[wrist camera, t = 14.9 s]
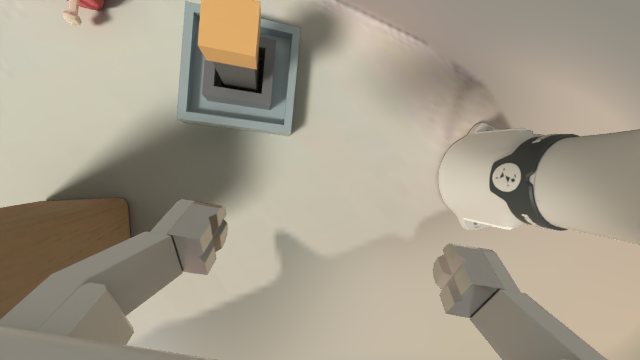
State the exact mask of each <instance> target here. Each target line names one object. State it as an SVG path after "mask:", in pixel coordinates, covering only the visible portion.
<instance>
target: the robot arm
mask: <svg viewBox="0 0 640 360" xmlns="http://www.w3.org/2000/svg"><path fill="white" fill-rule="evenodd" d="M439 189H440V193H441V195H442V198H443V200H444V202H445V203H446V205H447V206H448V207H449V208H450V209H451V210H452V211H453V212H454V213H455V214H456V215H457V217H458V220H459V222H460V224H461V226H462V227H463V228H464V229H466V230H475V229H481V228H487V227H492V226H494V227H498V228H503V229H508V230H511V229H512V228H516V227H521V226H524V225H527V224H530V225H534V226H536V227H540V228H544V229H554V230H560V231H561V230H568V229H569V230H574V231H579V232H583V233H588V234H593V235H598V236H602V237H606V238H611V239H616V240H620V241H625V242H630V243H634V244H639V245H640V129H638V130H632V131H624V132H618V133H609V134H600V135H590V136H578V135H574V134H551V135H541V134H533V131H530V130H525V129H524V128H516V129H505V130H500V129H497V128H495V127H493V126H490V125H488V124H486V123H478V124H476V125H475V126H474V127H473V128H472V129H471V131H470V132H469V133H468V135H466V136H465V137H464V138H462V139H460V140H459V141H457V142H456V143H454V144H453V145H452V146H451V147H450V148H449V150H448V151H447V152H446V154H445V156H444V158H443V160H442V162H441V165H440V170H439ZM225 216H226V210H225V207H223V206H219V205H213V204H208V203H203V202H197V201H191V200H185V199H181V200H179V201H177V202H176V203H175V204H174V205H173V207H172V208H171V209H170V210H169V211H168V212H167V213H166V214H165V215H164V217H163V218H162V219H161V220H160V221H159V222H158V223H157V224H156V226H155V227H154V228H153V229H152V230H151V231H150V232H146V231H145V232H143V233H141V234H138V235H136V236H134V237H132V238H130V239H127V240H125V241H123V242H121V243H119V244H117V245H114V246H112V247H110V248H108V249H106V250H103V251H101V252H99V253H97V254H95V255H93V256H90V257H88V258H86V259H84V260H82V261H79V262H77V263H75V264H73V265H71V266H69V267H66V268H64V269H62V270H60V271H58V272H55V273H53V274H51V275H50V276H49V277H48V278H47V279H45V280H44V281H43V282H42V283H41V284H40V285H39V286H38V287H36V288H35V289H34V290H33V291H32V292H31V293H30V294H29V295H27V296H26V297H25V298H24V299H23V300H22V301H21V302H20V303H18V304H17V305H16V306H15V307H14V308H13V309H12V310H11V311H9V312H8V313H7V314H6V315H5V316H4V317H3V318H1V319H0V360H216V359H210V358H203V357H197V356H190V355H184V354H178V353H172V352H165V351H159V350H152V349H146V348H140V347H134V346H128V345H126V344H127V342H128V341H129V339H130V337H131V336H132V334H133V333H134V331H133V327H132V325H131V324H130V322H129V321H128V319H127V318H126V315H127V314H129V313H130V312H131V311H133V310H134V309H135V308H137V307H138V306H139V305H141V304H142V303H143V302H145V301H146V300H147V299H149V298H150V297H151V296H153V295H154V294H155V293H157V292H158V291H159V290H161V289H162V288H163V287H165V286H166V285H167V284H169V283H170V282H171V281H173V280H174V279H175V278H177V277H178V276H179V275H181V274H182V272H189V273H197V274H204V275H208V273H209V271H210V269H211V267H212V265H213V264H214V262H215V260H216V254H215V252H216V251H218V250H220V249H221V248H222V246H223V244H224V242H225V240H226V236H227V230H228V226H227V222H226V221H225V220H224V217H225ZM443 252H444V255H442V256H440V257H438V258H437V259H436V261H435V263H434V267H433V275H434V279H435V283H436V284H437V285H438V286H439V287H440V288H441V289H442V290H441V293H440V297H441V301H442V304H443V307H444V310H445V312H446V314H451V315H456V316H462V317H468V318H471V319H470V320H471V321H472V323H473V324H474V325H475V326H476V328H477V329H478V330H479V331H480V333H481V334H482V335H483V336H484V337H485V339H486V340H487V341H488V342H489V344H490V345H491V346H492V347H493V348H494V350H495V351H496V352H497V353H498V355H499V356H500V357H501V358H502V360H607V359H606V358H604V357H603V356H602V355H601V354H600V353H598V352H597V351H596V350H595V349H593V348H592V347H591V346H590V345H588V344H587V343H586V342H585V341H583V340H582V339H581V338H580V337H578V336H577V335H576V334H575V333H574V332H573V331H571V330H570V329H569V328H568V327H566V326H565V325H564V324H563V323H561V322H560V321H559V320H558V319H556V318H555V317H554V316H553V315H551V314H550V313H549V312H548V311H547V310H545V309H544V308H543V307H542V306H540V305H539V304H538V303H537V302H536V301H534V300H533V299H532V298H531V297H529V296H528V295H527V294H525V293H521V292H520V290H519V289H518V287H517V285H516V284H515V282H514V281H513V279H512V278H511V276H510V274H509V273H508V271H507V270H506V268H505V266H504V265H503V263H502V262H501V260H500V258H499V257H498V255H497V254H496V253H495V252H494V251H493V250H489V249H483V248H475V247H469V246H462V245H457V244H450V243H449V244H448V245H446V246H445V247H444V249H443Z"/></svg>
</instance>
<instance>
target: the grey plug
mask: <svg viewBox="0 0 640 360" xmlns="http://www.w3.org/2000/svg"><path fill="white" fill-rule="evenodd" d="M260 27H261V6H260V1H256V0H201V8H200V21H199V34H198V47H199V48H200V50H201V52H202V54H203V55H204V57H205V59H206V60H208V61H212V62H213V64H214V66H215V68H216V70H217V72H218V74H219V76H220V78H221V80H222V82H223V84H224V85H225V87H226V88H229V89H235V90H241V91H247V92H253V93H258V84H259V73H260V60H259V38H260Z"/></svg>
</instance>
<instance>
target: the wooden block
mask: <svg viewBox="0 0 640 360" xmlns="http://www.w3.org/2000/svg"><path fill="white" fill-rule="evenodd" d="M130 238H131V237H130V225H129V213H128V204H127V202H126V200H124V199H121V198H99V199H78V200H58V201H39V202H33V203H27V204H21V205H15V206H9V207H3V208H0V319H1V318H3V317H4V316H5V315H6V314H7V313H8V312H9V311H11V310H12V309H13V308H14V307H15V306H16V305H17V304H18V303H20V302H21V301H22V300H23V299H24V298H25V297H26V296H27V295H29V294H30V293H31V292H32V291H33V290H34V289H35V288H36V287H38V286H39V285H40V284H41V283H42V282H43V281H44V280H45V279H47V278H48V277H49V276H50V275H51V274H53V273H55V272H58V271H60V270H62V269H64V268H66V267H69V266H71V265H73V264H75V263H77V262H79V261H82V260H84V259H86V258H88V257H90V256H93V255H95V254H97V253H99V252H101V251H103V250H106V249H108V248H110V247H112V246H114V245H117V244H119V243H121V242H123V241H125V240H127V239H130Z"/></svg>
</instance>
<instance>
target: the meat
mask: <svg viewBox="0 0 640 360" xmlns="http://www.w3.org/2000/svg"><path fill="white" fill-rule="evenodd" d="M68 1H69V5H68V11H64V12H63V17H64V18H65V19H66V21H67V22H69V23H70V24H72V25H80V24H81V19H80V17H79V16H78V8H79V6H81V7H84V8H89V9H93V10H97V11H99V10H101V9H102V7H103V4H104V2H103V0H68Z"/></svg>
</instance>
